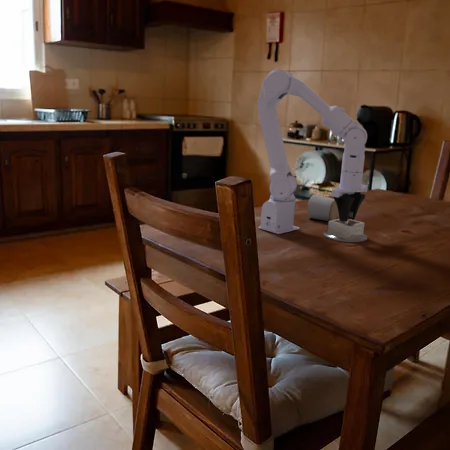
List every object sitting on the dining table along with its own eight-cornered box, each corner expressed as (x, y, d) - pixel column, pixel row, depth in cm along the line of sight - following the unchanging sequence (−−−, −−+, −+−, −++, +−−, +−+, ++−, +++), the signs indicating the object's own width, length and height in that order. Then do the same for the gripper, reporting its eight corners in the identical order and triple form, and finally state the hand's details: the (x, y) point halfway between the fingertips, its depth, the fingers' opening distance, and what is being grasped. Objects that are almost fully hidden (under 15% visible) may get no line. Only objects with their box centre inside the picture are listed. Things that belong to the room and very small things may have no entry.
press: (351, 245, 134) (353, 229, 133) (314, 234, 142) (316, 220, 141) (375, 237, 142) (377, 223, 141) (339, 228, 150) (340, 214, 149)
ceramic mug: (330, 224, 155) (332, 199, 154) (305, 219, 160) (307, 195, 158) (342, 218, 164) (345, 195, 162) (318, 214, 168) (321, 191, 166)
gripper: (349, 175, 130) (344, 226, 133) (379, 171, 140) (373, 219, 143) (326, 171, 135) (322, 221, 138) (357, 167, 145) (352, 214, 148)
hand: (346, 219), depth 141 cm, fingers closed on plunger, 3 cm apart
